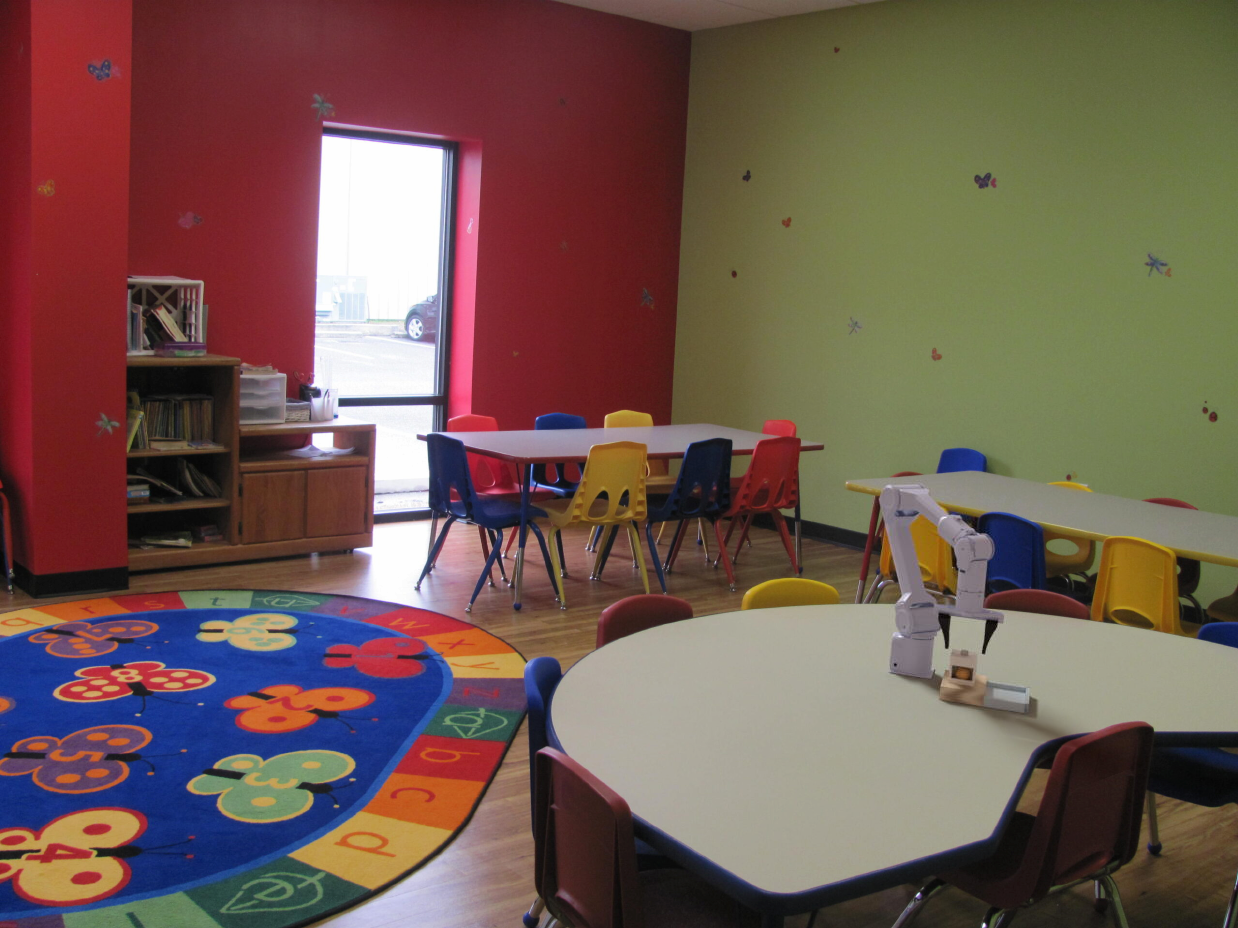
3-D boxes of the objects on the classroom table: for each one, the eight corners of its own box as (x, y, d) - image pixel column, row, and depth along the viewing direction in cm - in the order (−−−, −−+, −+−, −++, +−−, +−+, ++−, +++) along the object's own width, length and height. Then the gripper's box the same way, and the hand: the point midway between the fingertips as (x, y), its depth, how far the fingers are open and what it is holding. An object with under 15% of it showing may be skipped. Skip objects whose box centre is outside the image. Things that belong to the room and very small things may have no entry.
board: (939, 699, 234) (940, 685, 234) (944, 682, 245) (945, 669, 245) (983, 706, 231) (984, 692, 230) (986, 689, 242) (987, 676, 241)
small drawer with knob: (948, 682, 236) (950, 652, 235) (950, 674, 241) (952, 645, 240) (974, 686, 234) (976, 655, 233) (975, 678, 239) (978, 649, 238)
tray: (983, 706, 231) (983, 697, 230) (986, 689, 242) (986, 680, 242) (1028, 713, 227) (1029, 704, 227) (1029, 695, 239) (1030, 687, 238)
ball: (954, 681, 237) (955, 668, 236) (955, 677, 240) (956, 664, 239) (968, 683, 236) (969, 670, 235) (969, 679, 238) (970, 666, 238)
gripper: (934, 589, 234) (929, 650, 236) (1005, 598, 229) (999, 660, 230) (937, 582, 240) (932, 641, 242) (1006, 590, 235) (1000, 651, 237)
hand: (965, 650), depth 237 cm, fingers open, 7 cm apart
